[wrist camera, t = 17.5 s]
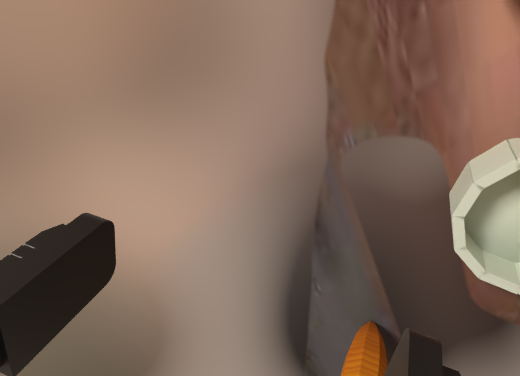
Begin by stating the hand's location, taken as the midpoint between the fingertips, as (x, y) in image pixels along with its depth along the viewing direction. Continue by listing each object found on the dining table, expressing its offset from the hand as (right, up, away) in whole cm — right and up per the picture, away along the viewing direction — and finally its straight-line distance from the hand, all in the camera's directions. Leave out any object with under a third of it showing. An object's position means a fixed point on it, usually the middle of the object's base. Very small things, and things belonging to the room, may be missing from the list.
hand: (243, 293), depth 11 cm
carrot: (+15, -14, +42) cm, 46 cm away
